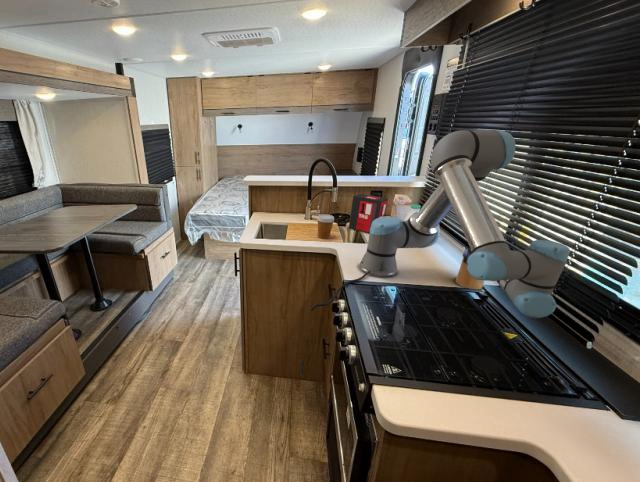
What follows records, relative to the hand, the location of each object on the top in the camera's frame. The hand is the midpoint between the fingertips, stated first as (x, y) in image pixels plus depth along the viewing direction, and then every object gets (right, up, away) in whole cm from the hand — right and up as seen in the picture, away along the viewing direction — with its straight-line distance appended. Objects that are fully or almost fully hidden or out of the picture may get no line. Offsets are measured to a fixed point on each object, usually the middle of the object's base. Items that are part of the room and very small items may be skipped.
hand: (491, 254), depth 109 cm
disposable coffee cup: (-42, +9, +65) cm, 78 cm away
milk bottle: (+3, +7, +59) cm, 60 cm away
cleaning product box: (-14, +14, +75) cm, 78 cm away
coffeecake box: (+6, +15, +77) cm, 79 cm away
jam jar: (+3, -12, +15) cm, 20 cm away
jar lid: (+3, -1, +10) cm, 11 cm away
